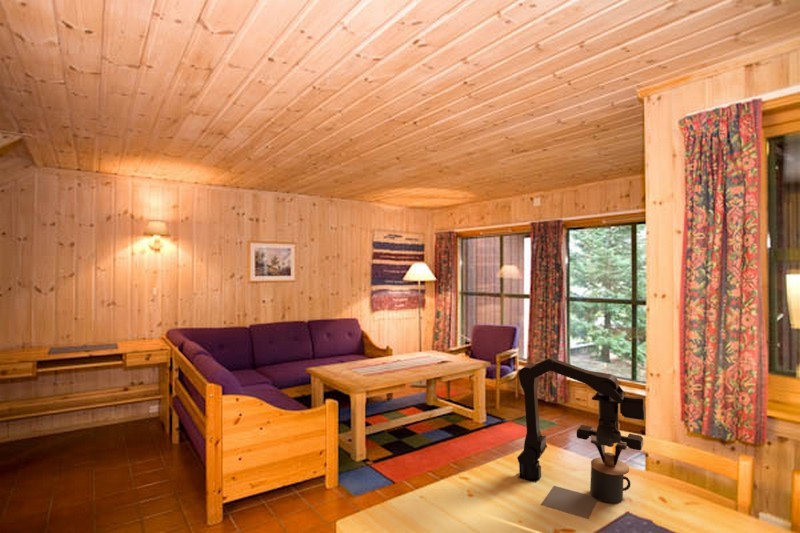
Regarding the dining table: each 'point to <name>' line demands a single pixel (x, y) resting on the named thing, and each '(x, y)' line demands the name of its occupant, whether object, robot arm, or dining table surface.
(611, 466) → the lid
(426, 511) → the dining table surface
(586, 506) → the mat
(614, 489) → the mug
